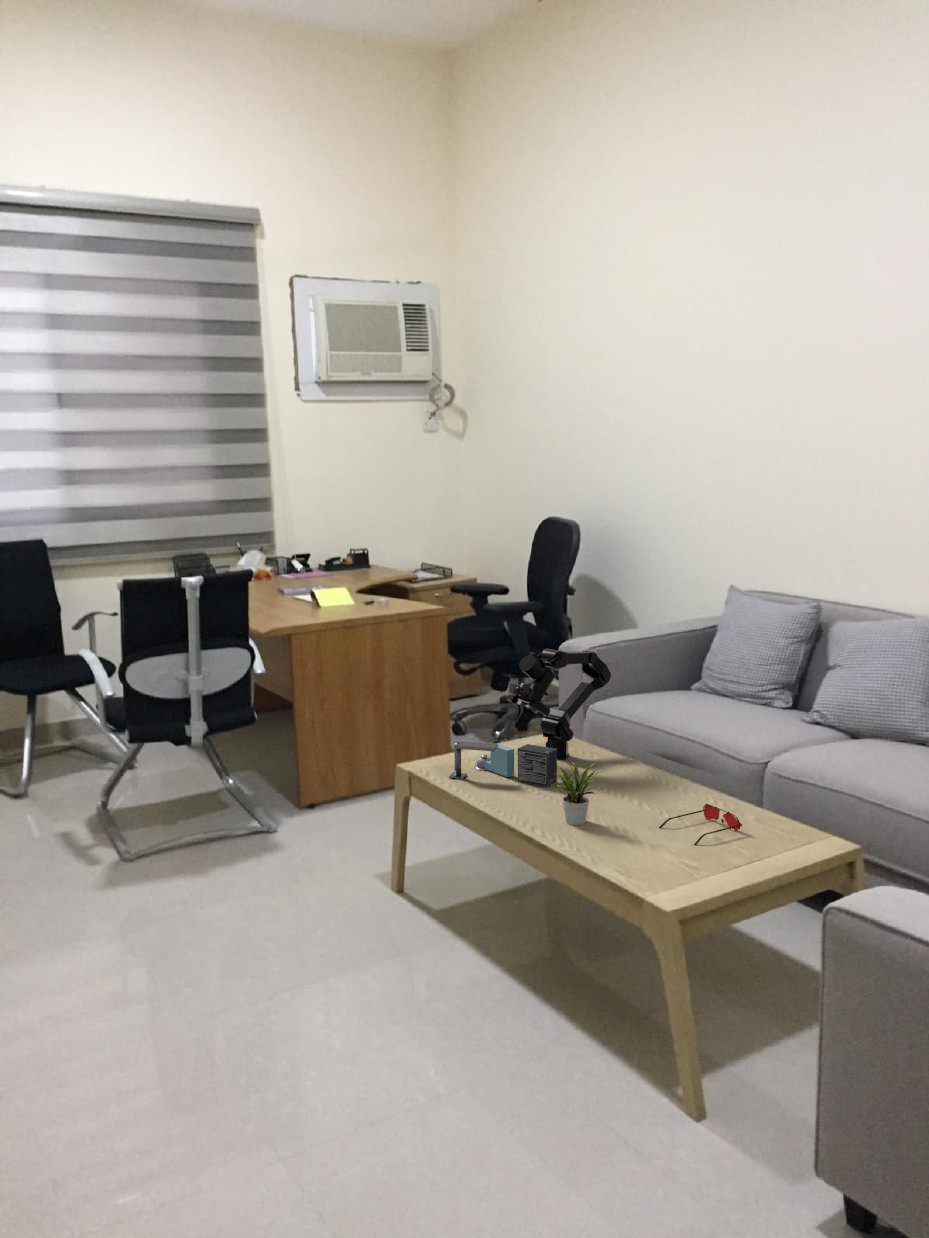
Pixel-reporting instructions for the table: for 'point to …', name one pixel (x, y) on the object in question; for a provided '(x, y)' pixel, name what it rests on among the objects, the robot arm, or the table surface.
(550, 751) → the small box
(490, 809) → the table surface
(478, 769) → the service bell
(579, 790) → the house plant
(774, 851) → the table surface
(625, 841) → the table surface
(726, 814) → the glasses
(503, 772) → the link
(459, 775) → the keeper
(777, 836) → the table surface
